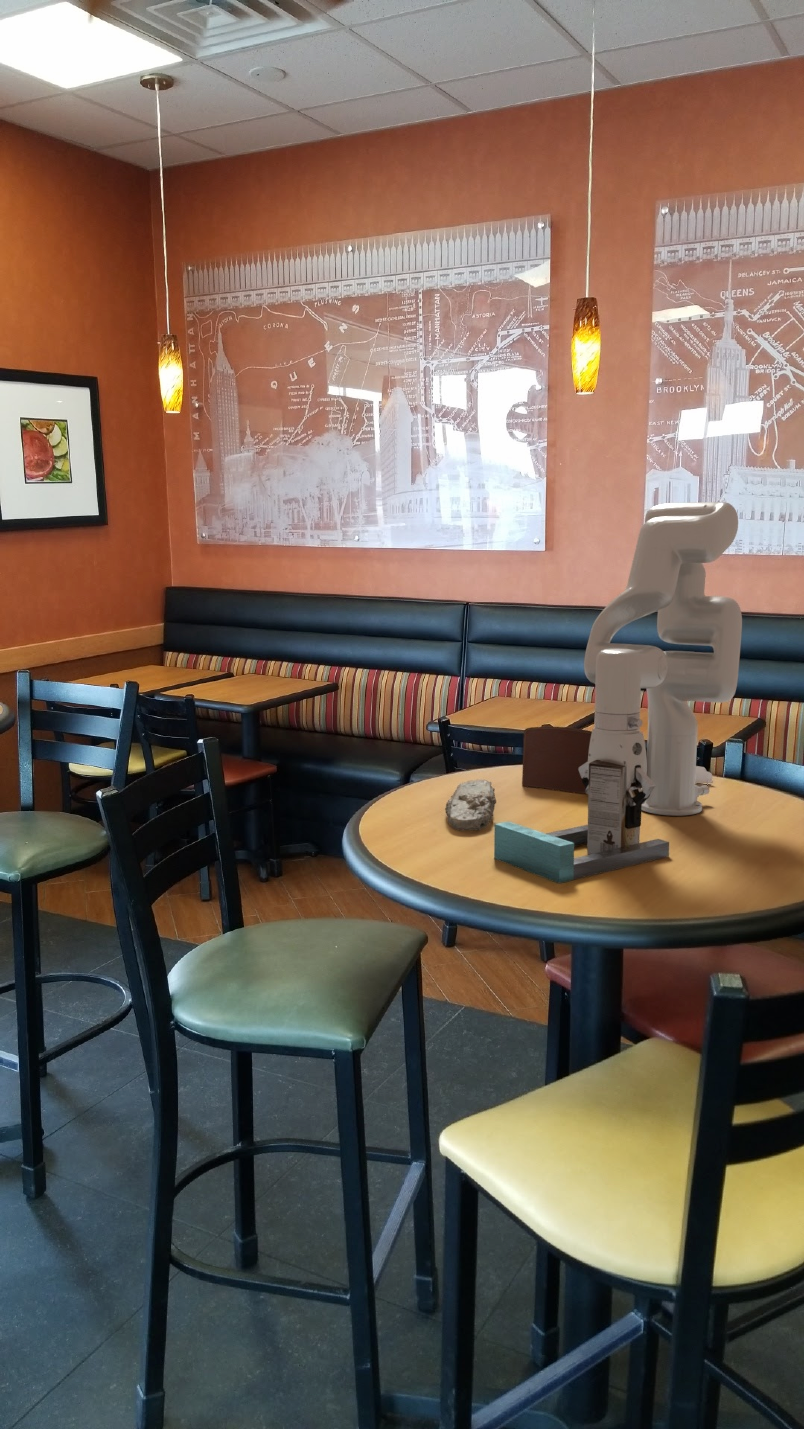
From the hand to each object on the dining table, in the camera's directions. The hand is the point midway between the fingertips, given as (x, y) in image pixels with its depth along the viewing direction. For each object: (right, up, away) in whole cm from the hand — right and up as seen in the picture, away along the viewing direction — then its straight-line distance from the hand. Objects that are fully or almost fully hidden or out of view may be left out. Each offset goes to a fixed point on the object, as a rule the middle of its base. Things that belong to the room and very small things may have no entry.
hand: (613, 821), depth 178 cm
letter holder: (+1, +2, +48) cm, 48 cm away
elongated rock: (-23, -1, +29) cm, 36 cm away
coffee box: (0, -5, +1) cm, 5 cm away
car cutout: (+25, +3, +53) cm, 58 cm away
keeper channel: (-6, -6, -3) cm, 9 cm away
